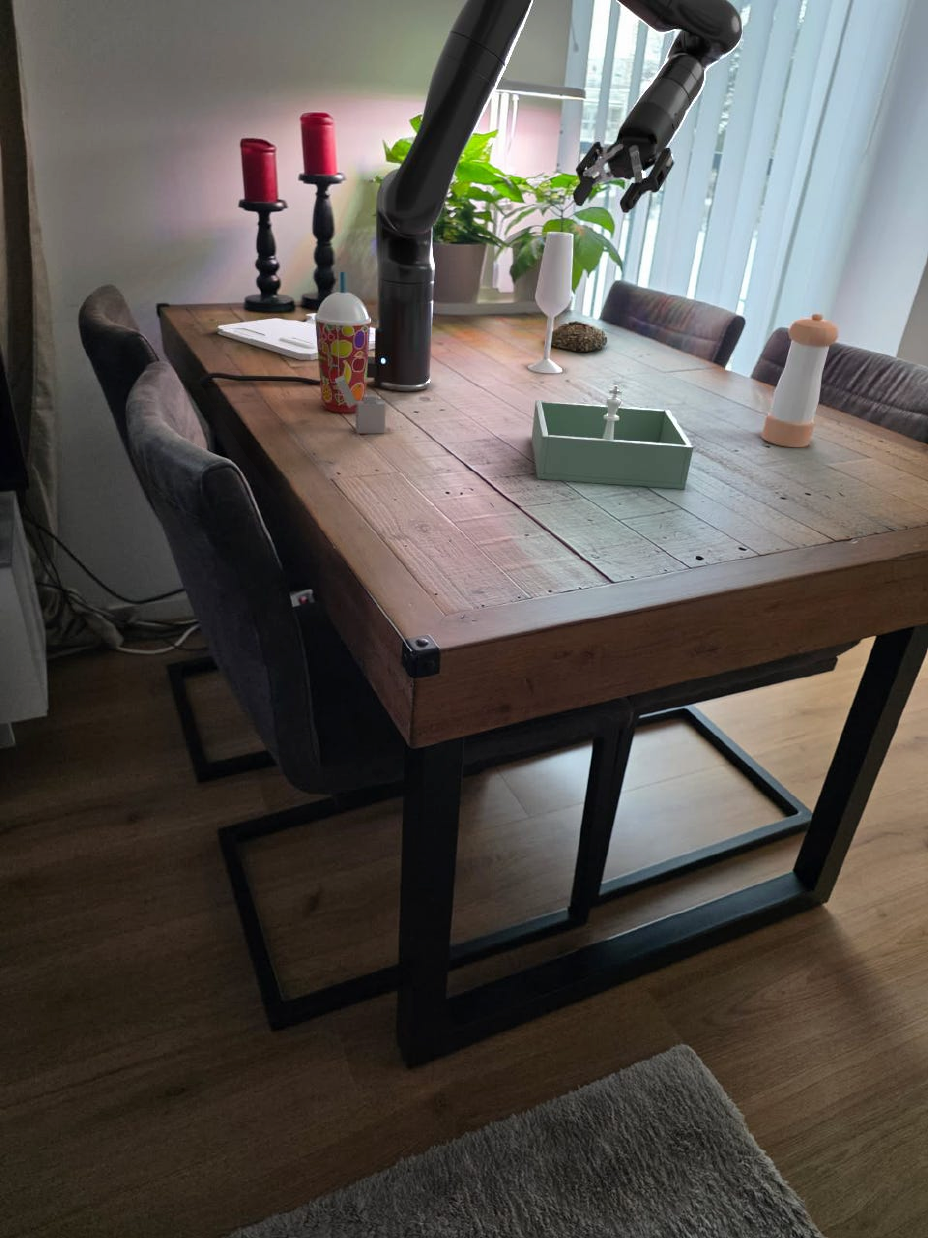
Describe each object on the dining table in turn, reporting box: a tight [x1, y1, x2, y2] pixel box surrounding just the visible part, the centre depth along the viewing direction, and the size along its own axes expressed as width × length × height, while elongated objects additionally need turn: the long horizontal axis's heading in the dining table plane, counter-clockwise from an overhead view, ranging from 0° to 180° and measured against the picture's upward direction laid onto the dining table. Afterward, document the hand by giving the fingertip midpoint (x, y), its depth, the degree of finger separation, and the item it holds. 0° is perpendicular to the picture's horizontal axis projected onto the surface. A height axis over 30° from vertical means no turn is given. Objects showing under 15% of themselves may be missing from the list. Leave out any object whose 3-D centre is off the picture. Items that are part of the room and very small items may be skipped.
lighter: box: [335, 375, 387, 435], centre depth 122 cm, size 7×2×8 cm, turn 104°
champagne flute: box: [527, 231, 574, 374], centre depth 159 cm, size 7×7×24 cm
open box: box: [531, 400, 694, 490], centre depth 118 cm, size 20×17×6 cm
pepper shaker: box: [761, 313, 839, 448], centre depth 130 cm, size 7×7×19 cm
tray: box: [217, 312, 376, 361], centre depth 174 cm, size 28×28×2 cm
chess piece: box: [603, 384, 623, 440], centre depth 117 cm, size 5×5×10 cm
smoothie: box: [315, 271, 372, 414], centre depth 129 cm, size 8×8×20 cm
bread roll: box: [551, 320, 608, 353], centre depth 184 cm, size 13×12×5 cm
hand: (599, 204), depth 128 cm, fingers open, 8 cm apart
